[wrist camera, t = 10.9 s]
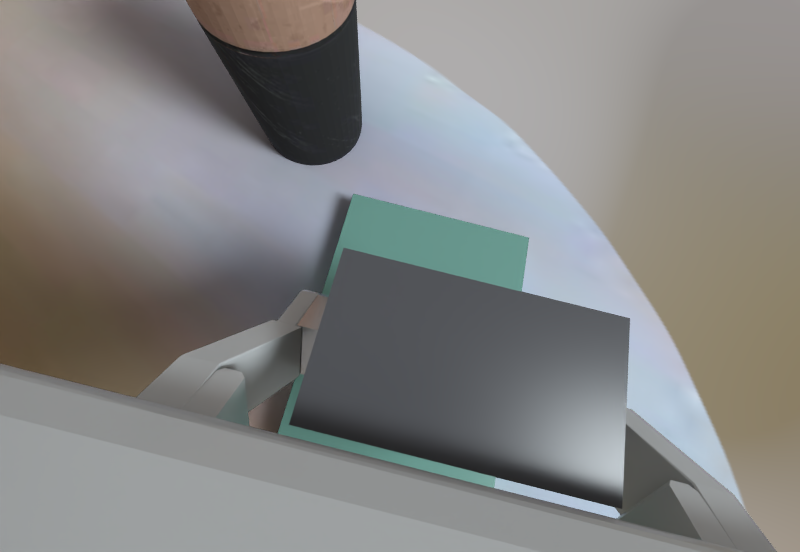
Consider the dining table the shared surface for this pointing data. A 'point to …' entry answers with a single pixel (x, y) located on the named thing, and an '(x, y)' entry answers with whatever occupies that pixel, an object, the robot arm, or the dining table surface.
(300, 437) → the teal plate
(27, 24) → the dining table surface
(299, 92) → the travel mug
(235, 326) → the dining table surface
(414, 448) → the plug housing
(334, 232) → the dining table surface
